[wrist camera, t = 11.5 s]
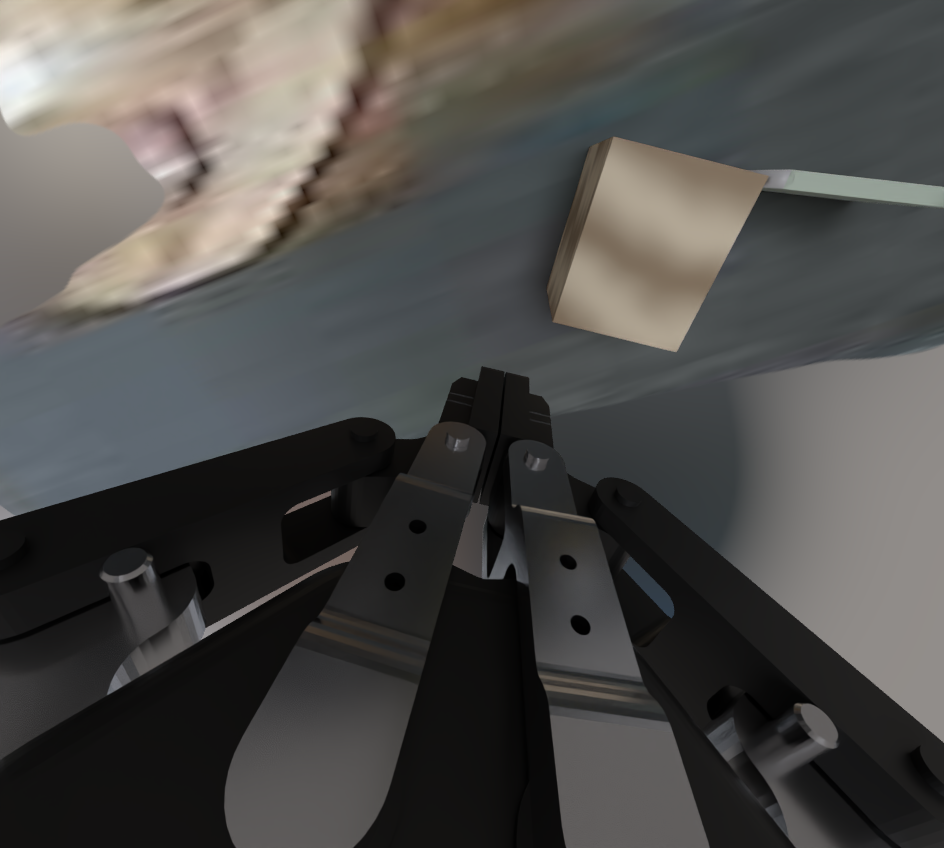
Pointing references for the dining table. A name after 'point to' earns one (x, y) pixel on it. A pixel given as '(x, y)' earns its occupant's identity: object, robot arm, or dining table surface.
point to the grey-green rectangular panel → (852, 188)
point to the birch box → (646, 240)
